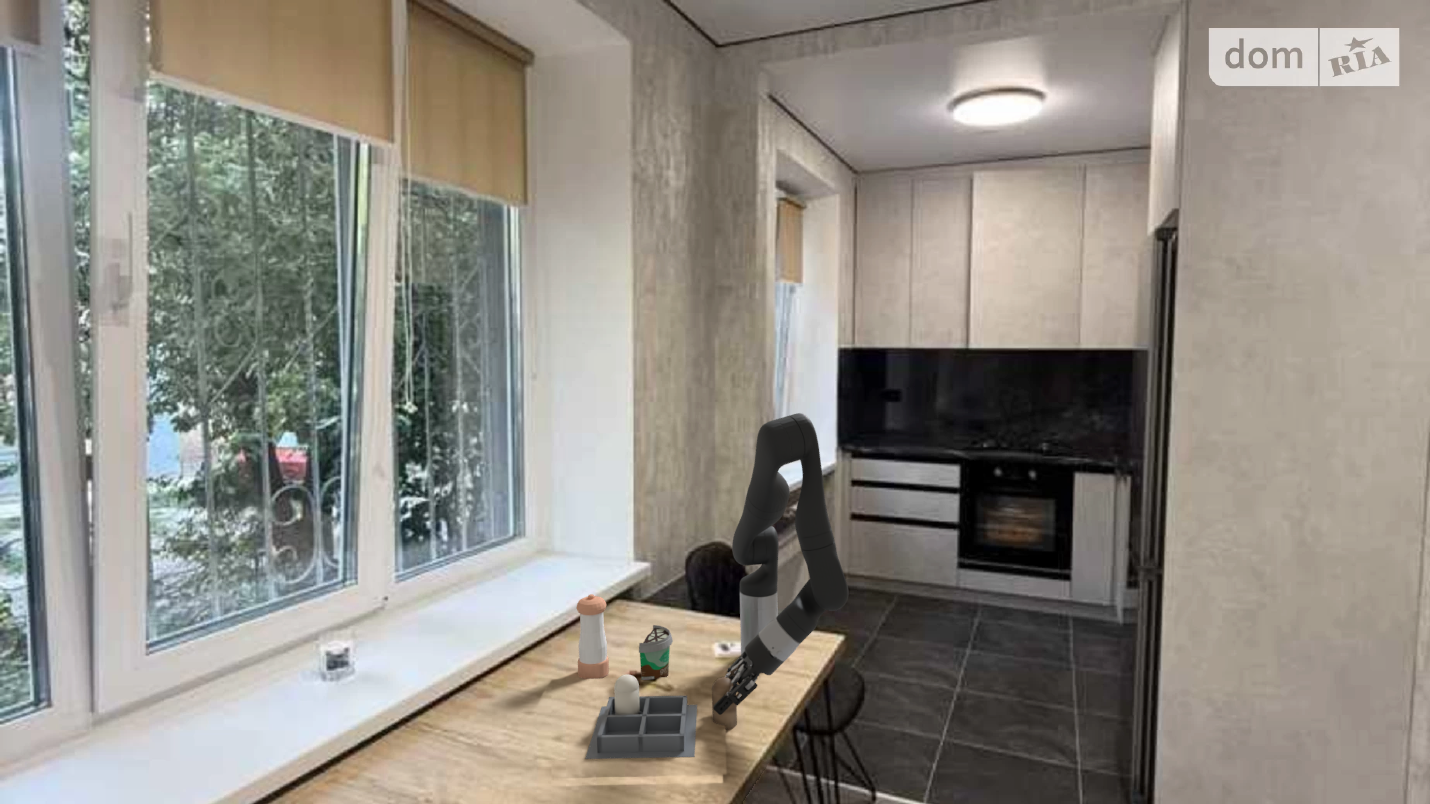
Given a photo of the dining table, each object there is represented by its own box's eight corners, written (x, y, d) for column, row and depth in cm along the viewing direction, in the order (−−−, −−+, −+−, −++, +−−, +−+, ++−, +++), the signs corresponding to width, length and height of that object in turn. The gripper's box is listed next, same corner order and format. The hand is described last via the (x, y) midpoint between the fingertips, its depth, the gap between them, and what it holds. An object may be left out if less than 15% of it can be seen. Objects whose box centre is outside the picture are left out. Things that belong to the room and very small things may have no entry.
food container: (665, 688, 170) (664, 645, 169) (639, 686, 171) (638, 643, 170) (679, 665, 182) (678, 625, 181) (654, 663, 183) (653, 624, 182)
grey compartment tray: (601, 710, 160) (601, 692, 159) (697, 709, 160) (696, 690, 159) (585, 763, 139) (584, 743, 139) (694, 761, 139) (694, 741, 139)
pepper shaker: (572, 677, 177) (569, 597, 175) (588, 665, 183) (586, 588, 182) (598, 681, 174) (596, 601, 172) (614, 669, 181) (612, 591, 179)
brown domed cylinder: (712, 717, 156) (711, 673, 155) (736, 717, 156) (735, 672, 155) (712, 729, 151) (711, 684, 150) (737, 729, 151) (736, 683, 150)
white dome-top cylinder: (617, 714, 156) (615, 670, 155) (641, 714, 156) (639, 670, 155) (613, 726, 151) (612, 681, 150) (638, 726, 151) (637, 680, 150)
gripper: (757, 620, 159) (703, 675, 160) (761, 647, 145) (702, 707, 146) (782, 644, 160) (728, 698, 161) (789, 673, 145) (730, 733, 146)
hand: (716, 702), depth 153 cm, fingers open, 6 cm apart
